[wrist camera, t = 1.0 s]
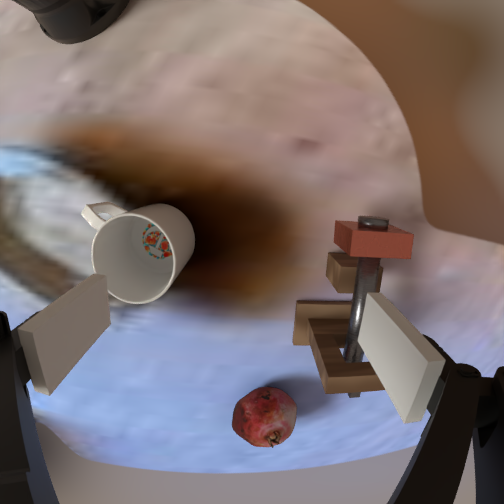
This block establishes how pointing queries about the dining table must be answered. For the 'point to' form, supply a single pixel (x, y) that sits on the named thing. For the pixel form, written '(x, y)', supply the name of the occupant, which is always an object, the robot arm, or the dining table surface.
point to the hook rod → (367, 267)
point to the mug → (139, 248)
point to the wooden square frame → (332, 346)
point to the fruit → (265, 417)
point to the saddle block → (345, 272)
